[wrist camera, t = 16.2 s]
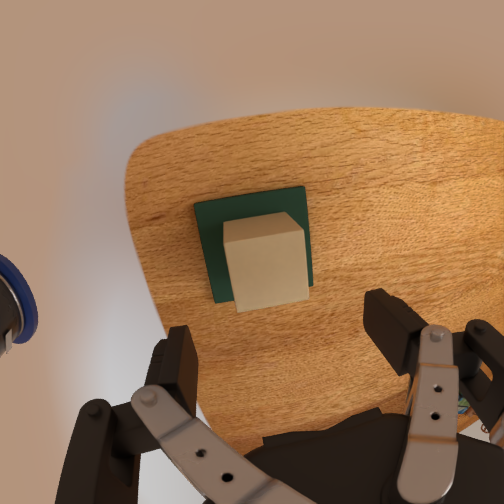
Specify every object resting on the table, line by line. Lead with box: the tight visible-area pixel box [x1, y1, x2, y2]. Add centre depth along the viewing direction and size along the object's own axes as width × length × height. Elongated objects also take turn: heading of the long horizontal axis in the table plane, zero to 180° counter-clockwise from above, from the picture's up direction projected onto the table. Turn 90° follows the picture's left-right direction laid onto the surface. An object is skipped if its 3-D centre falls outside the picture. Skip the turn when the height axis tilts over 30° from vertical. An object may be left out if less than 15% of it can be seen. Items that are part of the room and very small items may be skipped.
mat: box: [194, 186, 313, 303], centre depth 21 cm, size 8×8×1 cm
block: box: [223, 212, 309, 313], centre depth 19 cm, size 4×4×5 cm
